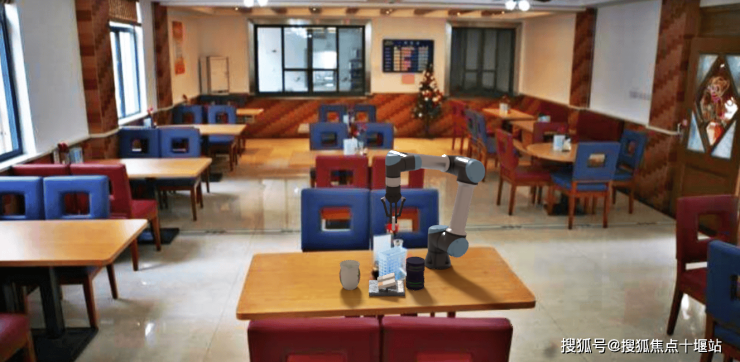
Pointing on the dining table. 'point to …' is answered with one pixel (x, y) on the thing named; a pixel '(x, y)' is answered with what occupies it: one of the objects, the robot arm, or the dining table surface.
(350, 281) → the pitcher
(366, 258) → the dining table surface
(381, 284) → the paddle near
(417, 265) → the storage jar
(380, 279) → the paddle far
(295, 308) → the dining table surface
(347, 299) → the dining table surface
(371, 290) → the breaker panel
